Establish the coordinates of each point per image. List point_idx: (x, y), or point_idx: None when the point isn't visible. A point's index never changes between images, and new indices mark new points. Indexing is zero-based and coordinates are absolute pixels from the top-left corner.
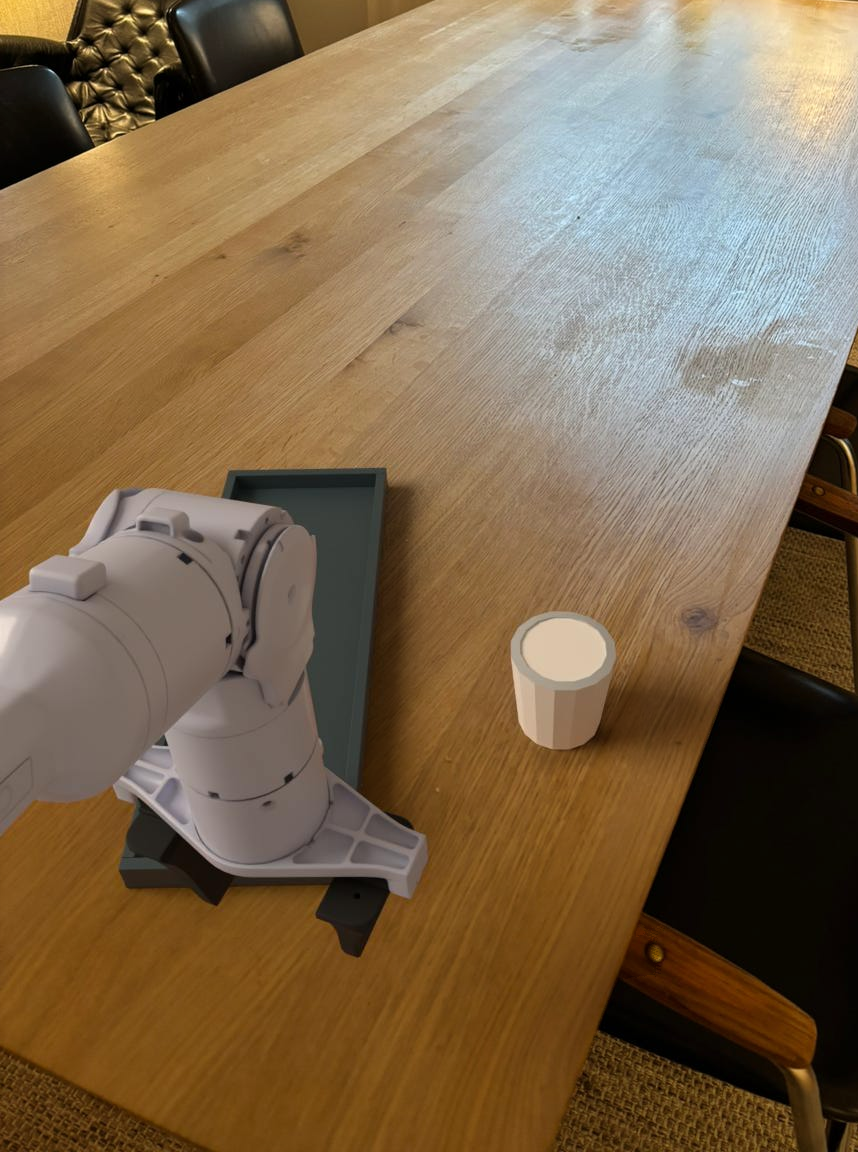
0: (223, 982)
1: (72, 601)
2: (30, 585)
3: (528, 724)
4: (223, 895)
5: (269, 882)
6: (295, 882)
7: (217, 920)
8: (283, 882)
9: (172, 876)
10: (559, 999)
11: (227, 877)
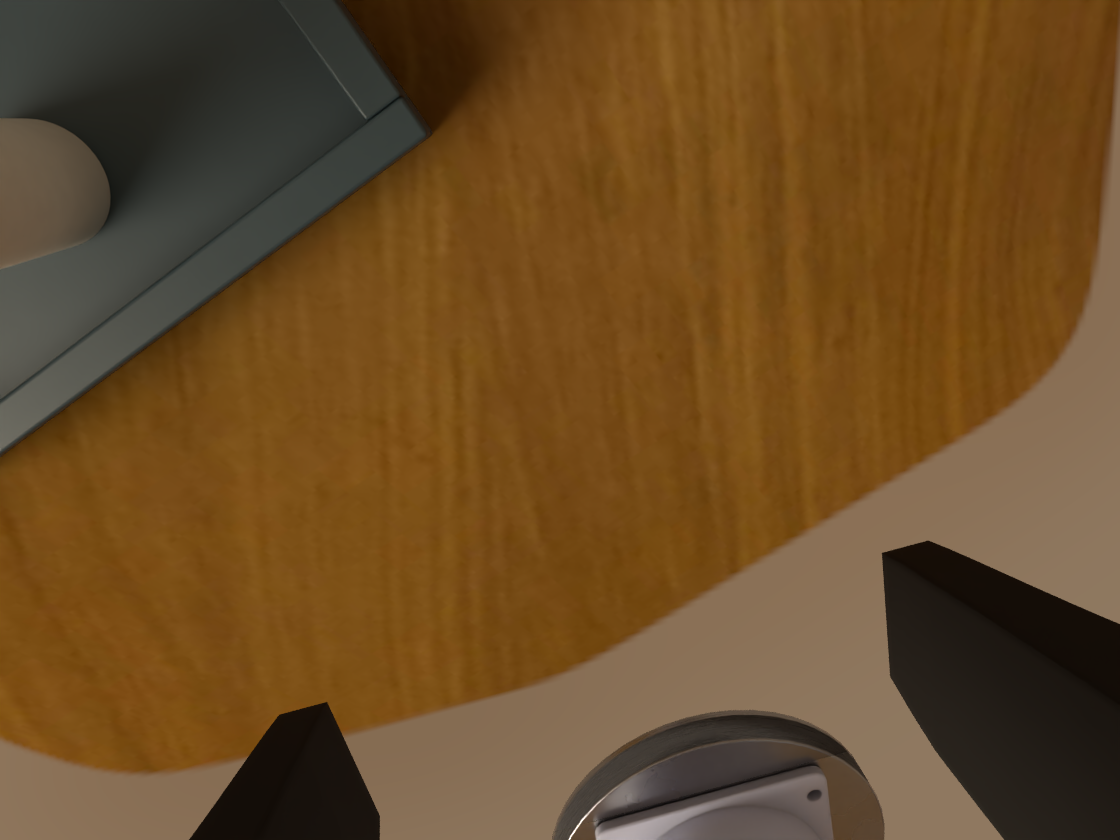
0: (357, 502)
1: None
2: None
3: None
4: (363, 783)
5: (244, 274)
6: (302, 231)
7: (220, 415)
8: (275, 251)
9: (26, 436)
10: (1047, 95)
11: (338, 794)
